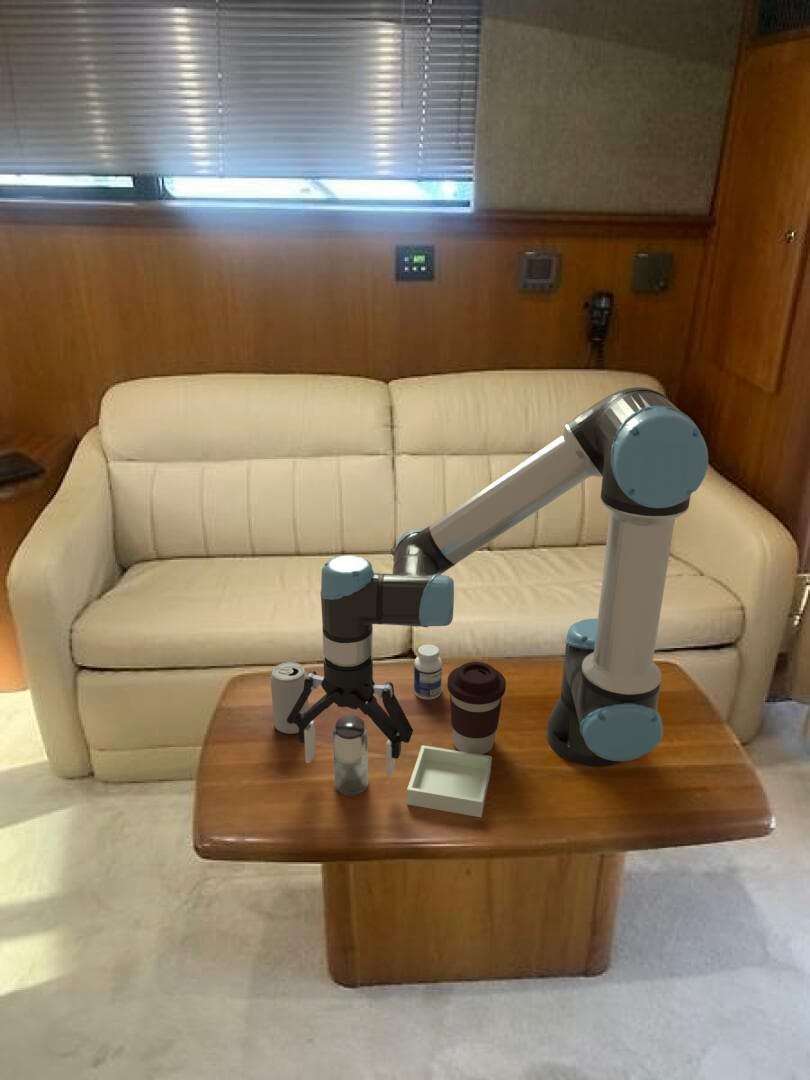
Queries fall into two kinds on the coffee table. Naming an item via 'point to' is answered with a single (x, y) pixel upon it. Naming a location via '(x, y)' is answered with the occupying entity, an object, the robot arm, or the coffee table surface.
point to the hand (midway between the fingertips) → (350, 764)
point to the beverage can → (287, 694)
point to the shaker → (350, 755)
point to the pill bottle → (428, 672)
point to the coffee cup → (475, 706)
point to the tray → (450, 781)
